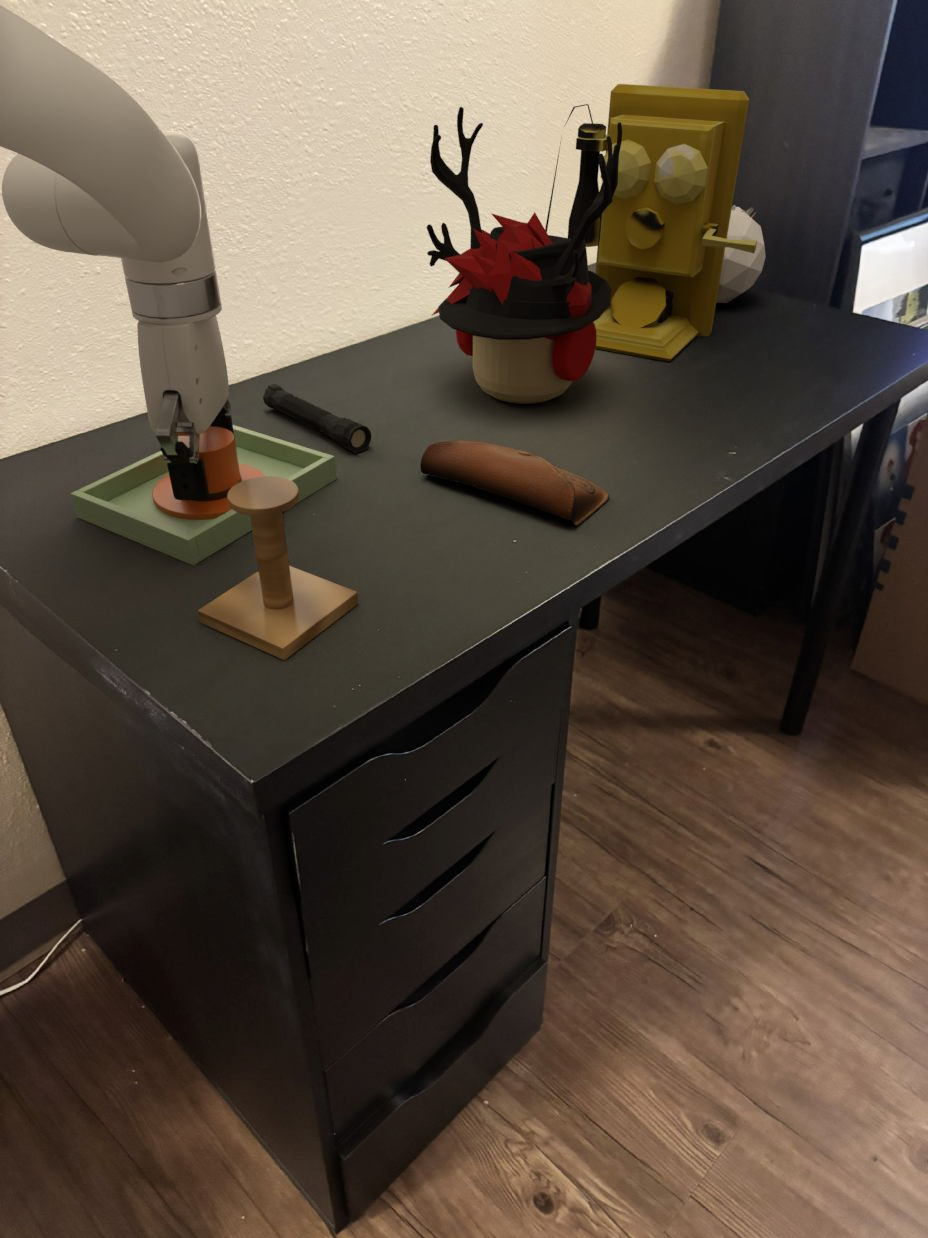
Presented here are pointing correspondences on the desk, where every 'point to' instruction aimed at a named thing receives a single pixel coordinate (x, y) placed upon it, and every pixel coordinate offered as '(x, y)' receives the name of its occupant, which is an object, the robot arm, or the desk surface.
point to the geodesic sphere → (741, 256)
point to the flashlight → (319, 419)
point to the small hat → (208, 477)
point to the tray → (135, 516)
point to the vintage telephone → (662, 212)
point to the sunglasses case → (514, 477)
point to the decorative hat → (522, 290)
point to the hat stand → (274, 580)
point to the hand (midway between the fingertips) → (207, 474)
